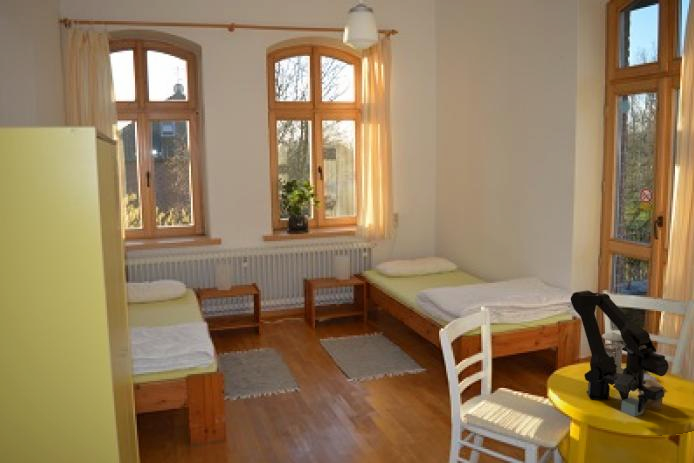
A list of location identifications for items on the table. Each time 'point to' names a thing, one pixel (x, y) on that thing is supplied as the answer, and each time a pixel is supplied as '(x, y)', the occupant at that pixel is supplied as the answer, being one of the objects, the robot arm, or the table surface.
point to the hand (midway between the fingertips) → (632, 409)
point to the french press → (614, 348)
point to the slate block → (630, 406)
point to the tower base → (653, 403)
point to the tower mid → (652, 384)
